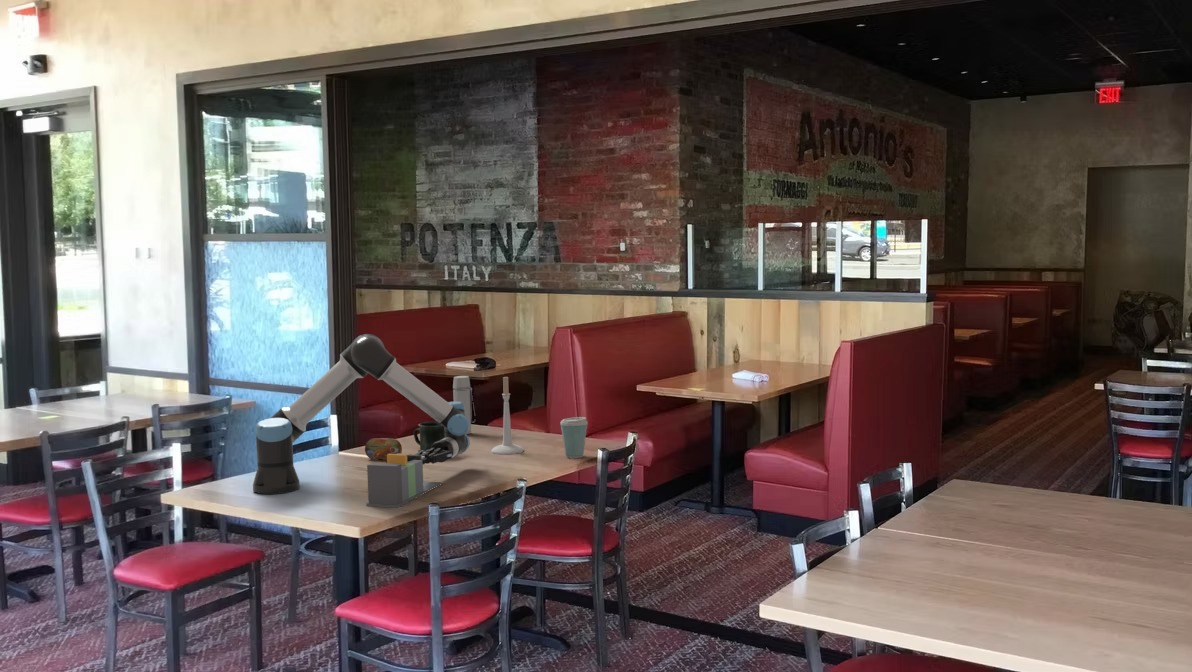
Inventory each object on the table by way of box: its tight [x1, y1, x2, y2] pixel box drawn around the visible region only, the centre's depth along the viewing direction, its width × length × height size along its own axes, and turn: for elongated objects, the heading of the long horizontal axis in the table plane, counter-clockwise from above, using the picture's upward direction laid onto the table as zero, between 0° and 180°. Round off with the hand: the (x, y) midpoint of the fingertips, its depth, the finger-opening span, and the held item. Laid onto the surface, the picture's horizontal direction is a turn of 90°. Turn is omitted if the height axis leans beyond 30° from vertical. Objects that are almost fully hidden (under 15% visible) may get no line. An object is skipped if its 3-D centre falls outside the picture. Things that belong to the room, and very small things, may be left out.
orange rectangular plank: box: [386, 453, 408, 465], centre depth 329 cm, size 2×6×3 cm, turn 74°
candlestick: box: [490, 376, 525, 455], centre depth 403 cm, size 13×13×30 cm
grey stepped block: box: [366, 460, 443, 509], centre depth 334 cm, size 32×11×13 cm, turn 164°
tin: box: [364, 437, 403, 461], centre depth 392 cm, size 15×3×8 cm, turn 71°
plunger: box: [397, 453, 422, 463], centre depth 332 cm, size 17×6×8 cm, turn 164°
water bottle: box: [452, 375, 476, 436], centre depth 443 cm, size 9×8×25 cm
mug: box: [413, 421, 445, 452], centre depth 402 cm, size 11×15×12 cm
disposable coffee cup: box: [559, 416, 588, 459], centre depth 391 cm, size 11×11×15 cm
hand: (414, 463), depth 340 cm, fingers closed
